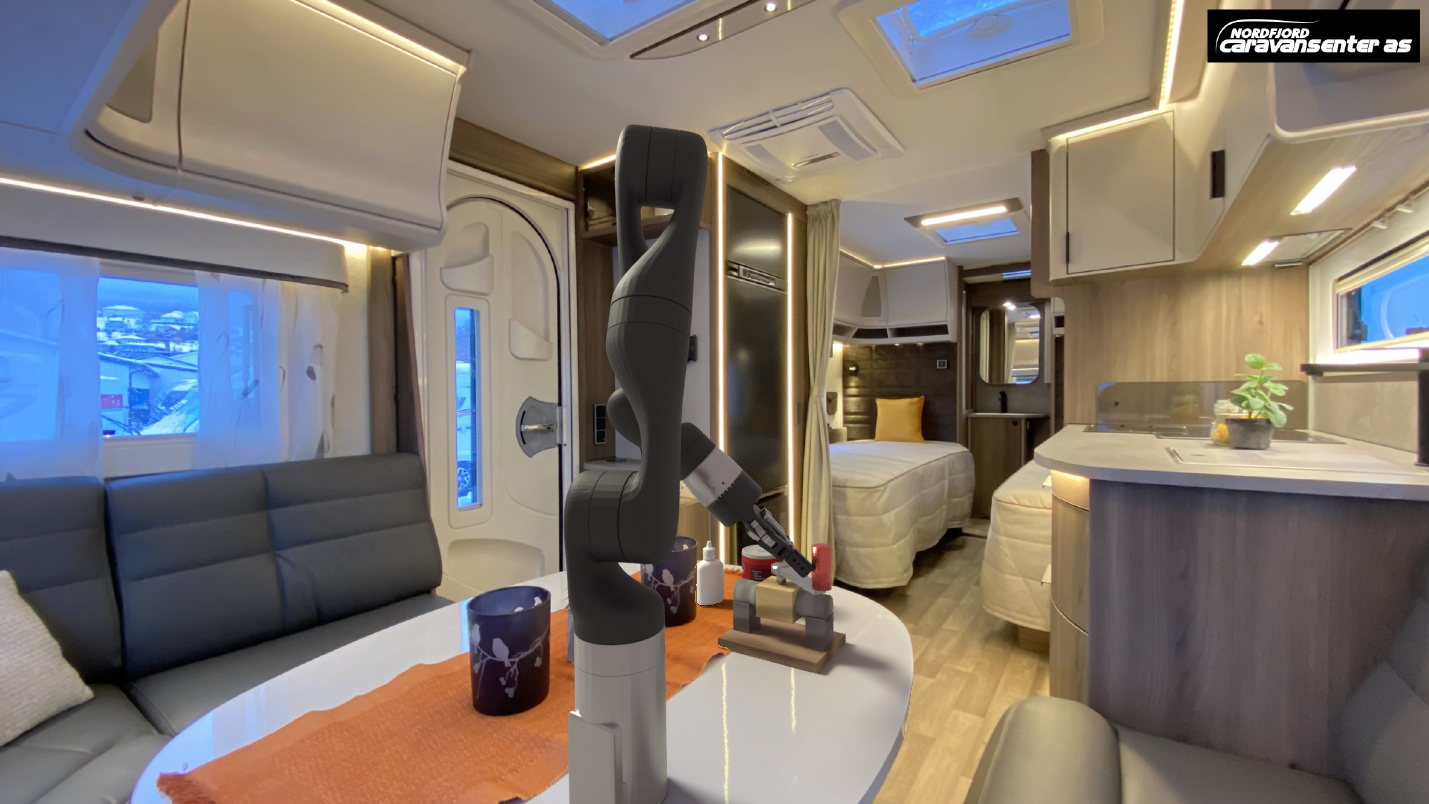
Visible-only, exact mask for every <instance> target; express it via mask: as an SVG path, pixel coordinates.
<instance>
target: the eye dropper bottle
mask: <svg viewBox="0 0 1429 804" xmlns="http://www.w3.org/2000/svg"><path fill="white" fill-rule="evenodd" d="M716 553H717V551H716V547H714V546H713V545H712V540H707V541H706V546H705V547H703V548H702V556H703V557H702V558H703V559H702V560H700V561H699V562H698V563H697V564H696V565H697V584H696V586H697V603H698V604H699V605H698V604H697V603H696V604H697V605H698V606H700V605H706V604H714V603H718V602H721V601H723V600H725V571H724V570H725V569H724V567H725V566H724V563H723V562H722V561H721V560H720V559H717V558H716V557H717V556H716V555H717V554H716ZM723 602H724V601H723ZM721 603H722V602H721Z"/></svg>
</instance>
